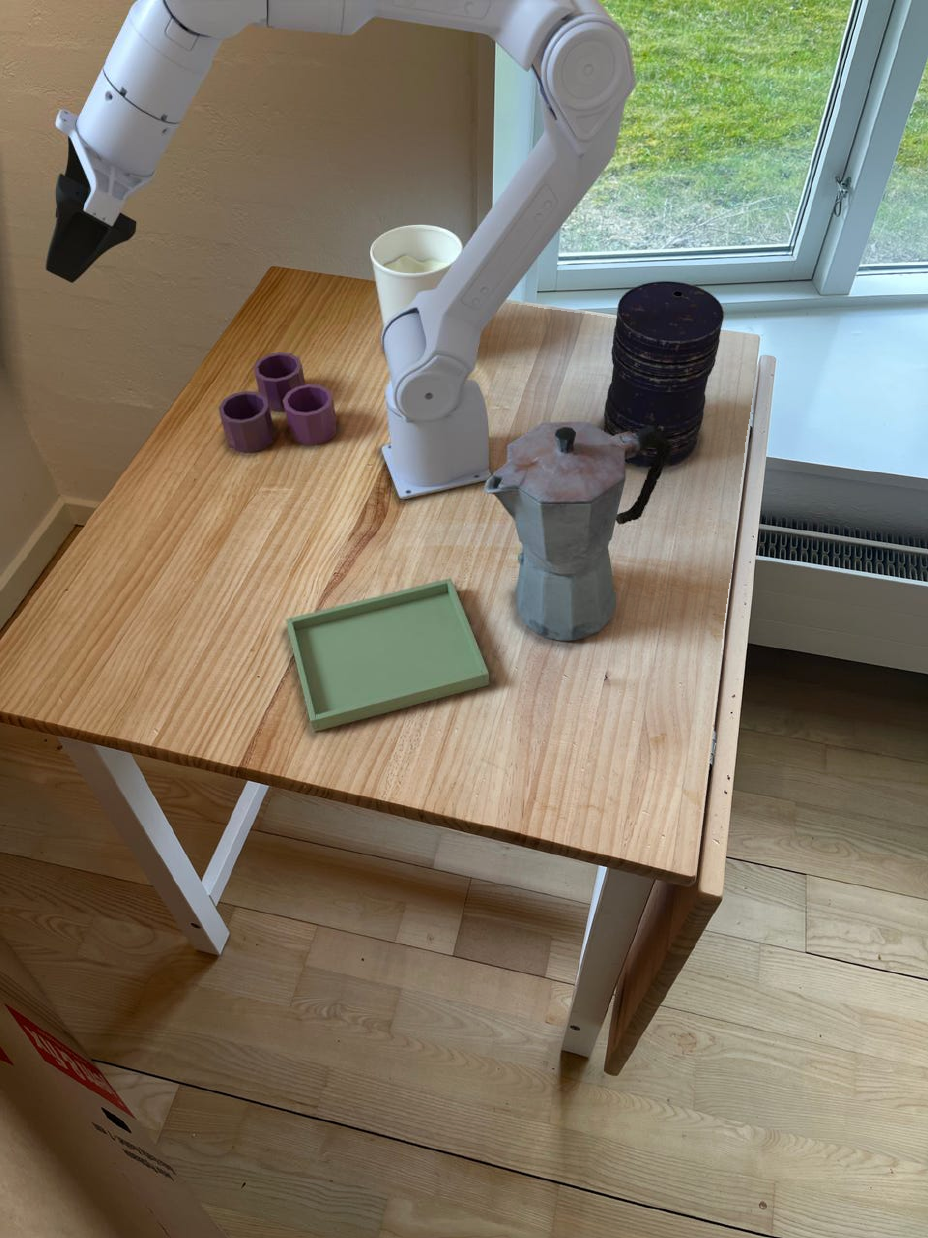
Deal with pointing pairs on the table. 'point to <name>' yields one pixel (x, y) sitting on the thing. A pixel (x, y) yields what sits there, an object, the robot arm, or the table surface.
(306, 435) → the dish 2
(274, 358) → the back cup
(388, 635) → the tray
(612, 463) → the moka pot
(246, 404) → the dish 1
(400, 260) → the white paper cup
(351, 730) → the table surface
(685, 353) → the storage jar
